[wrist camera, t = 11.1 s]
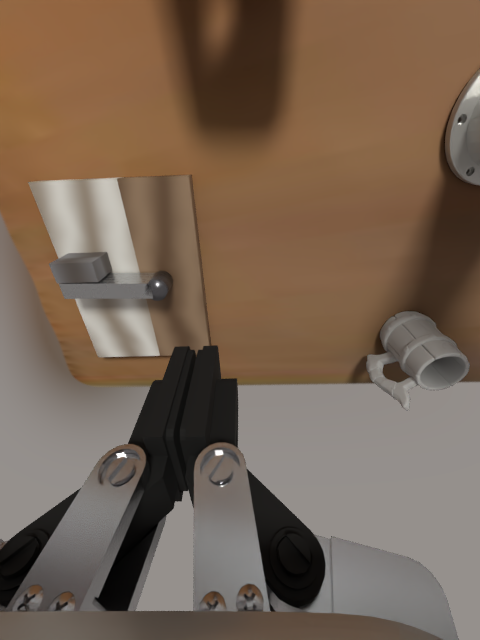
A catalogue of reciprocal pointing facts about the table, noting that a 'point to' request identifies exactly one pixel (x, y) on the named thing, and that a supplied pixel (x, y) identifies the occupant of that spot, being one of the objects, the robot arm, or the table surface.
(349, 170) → the table surface
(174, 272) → the door board
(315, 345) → the table surface
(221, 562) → the robot arm
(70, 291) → the bar
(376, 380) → the mug
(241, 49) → the table surface
